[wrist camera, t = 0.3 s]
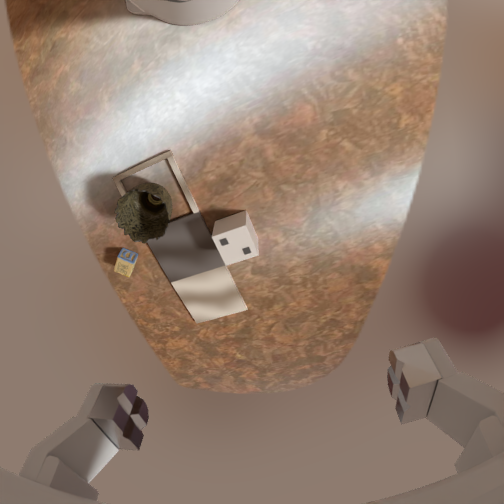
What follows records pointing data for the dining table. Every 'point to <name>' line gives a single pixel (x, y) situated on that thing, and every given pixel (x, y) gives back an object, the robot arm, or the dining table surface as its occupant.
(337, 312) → the dining table surface
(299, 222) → the dining table surface
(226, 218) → the die
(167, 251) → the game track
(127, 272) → the alphabet block
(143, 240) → the cup
